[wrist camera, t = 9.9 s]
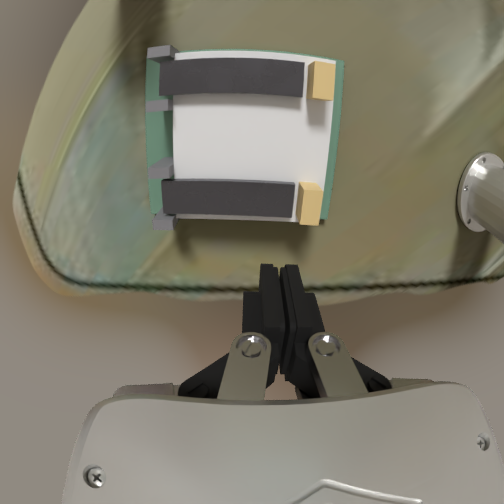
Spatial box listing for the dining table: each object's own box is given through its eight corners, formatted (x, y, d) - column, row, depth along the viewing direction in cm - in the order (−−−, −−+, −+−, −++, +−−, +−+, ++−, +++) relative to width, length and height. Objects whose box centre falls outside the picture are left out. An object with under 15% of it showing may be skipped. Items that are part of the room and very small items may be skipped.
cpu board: (340, 62, 22) (368, 51, 16) (324, 215, 31) (343, 245, 25) (150, 57, 22) (122, 45, 15) (154, 209, 31) (131, 238, 24)
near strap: (303, 63, 19) (304, 62, 18) (301, 97, 20) (302, 97, 20) (162, 63, 18) (159, 62, 18) (161, 96, 20) (158, 96, 19)
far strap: (294, 182, 24) (295, 184, 23) (290, 214, 26) (291, 218, 25) (163, 178, 24) (160, 181, 23) (165, 210, 25) (163, 213, 25)
